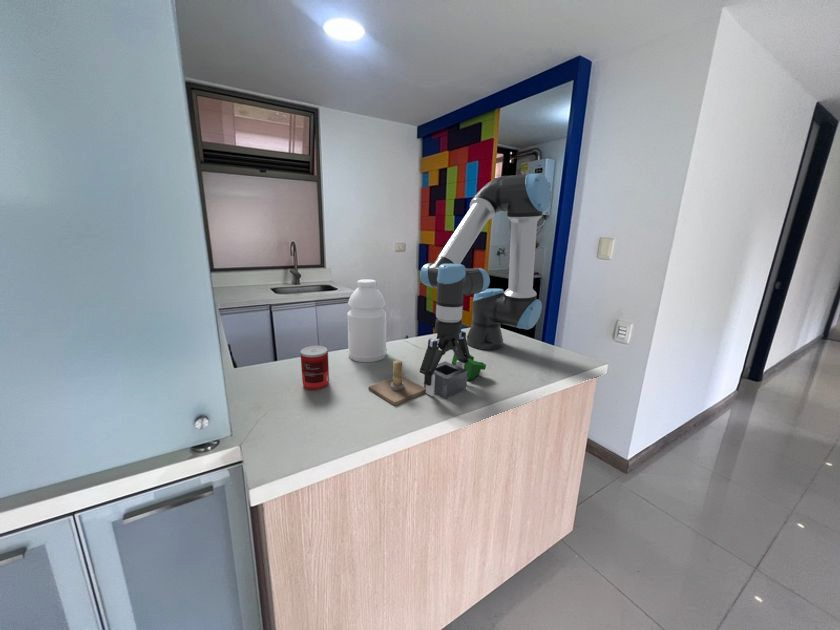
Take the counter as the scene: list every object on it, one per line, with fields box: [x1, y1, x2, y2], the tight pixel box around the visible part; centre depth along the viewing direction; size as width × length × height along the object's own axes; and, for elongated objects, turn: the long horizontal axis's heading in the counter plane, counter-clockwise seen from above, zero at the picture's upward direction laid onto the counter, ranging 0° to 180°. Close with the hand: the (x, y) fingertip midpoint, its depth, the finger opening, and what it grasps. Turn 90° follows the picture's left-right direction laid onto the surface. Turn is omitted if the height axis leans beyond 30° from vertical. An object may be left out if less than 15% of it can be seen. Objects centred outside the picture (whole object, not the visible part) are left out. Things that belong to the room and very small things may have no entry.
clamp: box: [450, 352, 487, 381], centre depth 111 cm, size 12×6×9 cm, turn 20°
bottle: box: [346, 278, 387, 363], centre depth 120 cm, size 14×14×28 cm
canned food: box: [300, 345, 330, 391], centre depth 99 cm, size 8×8×11 cm
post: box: [368, 360, 426, 406], centre depth 97 cm, size 12×12×9 cm
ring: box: [423, 361, 468, 400], centre depth 100 cm, size 9×9×6 cm
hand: (445, 387), depth 101 cm, fingers open, 12 cm apart
